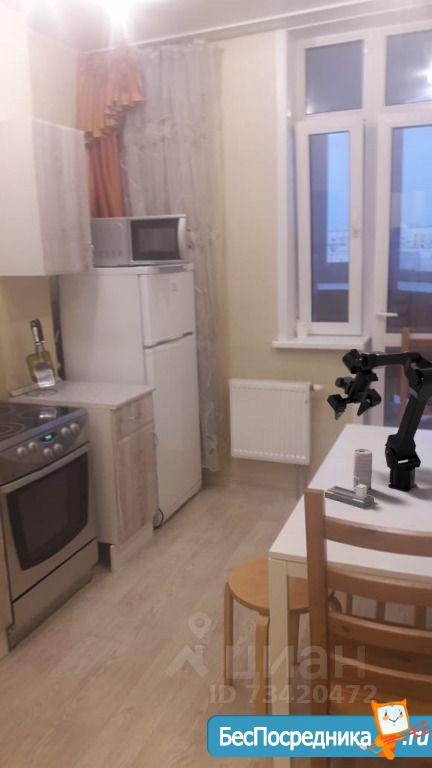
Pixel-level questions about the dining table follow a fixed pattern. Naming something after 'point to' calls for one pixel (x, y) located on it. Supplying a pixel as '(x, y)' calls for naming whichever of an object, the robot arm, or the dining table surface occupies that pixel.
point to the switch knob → (361, 491)
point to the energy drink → (362, 468)
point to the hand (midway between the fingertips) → (346, 417)
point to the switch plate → (348, 496)
